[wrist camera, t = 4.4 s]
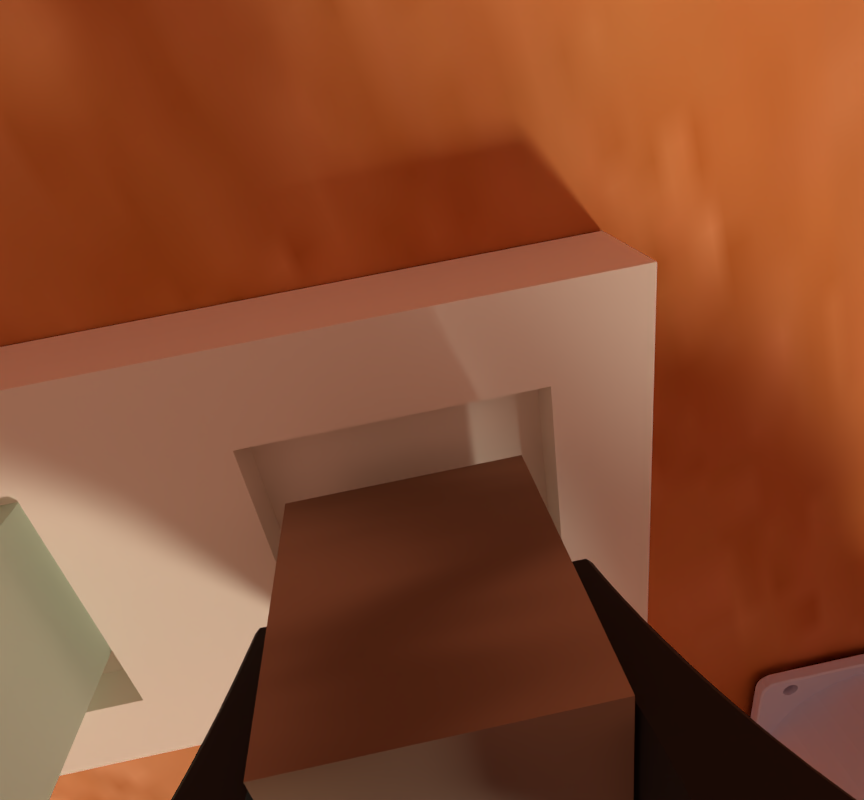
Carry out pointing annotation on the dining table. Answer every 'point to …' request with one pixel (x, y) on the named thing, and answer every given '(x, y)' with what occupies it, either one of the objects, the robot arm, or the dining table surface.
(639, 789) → the robot arm
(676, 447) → the dining table surface
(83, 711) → the sage block
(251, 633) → the base board
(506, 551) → the walnut block
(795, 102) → the dining table surface
